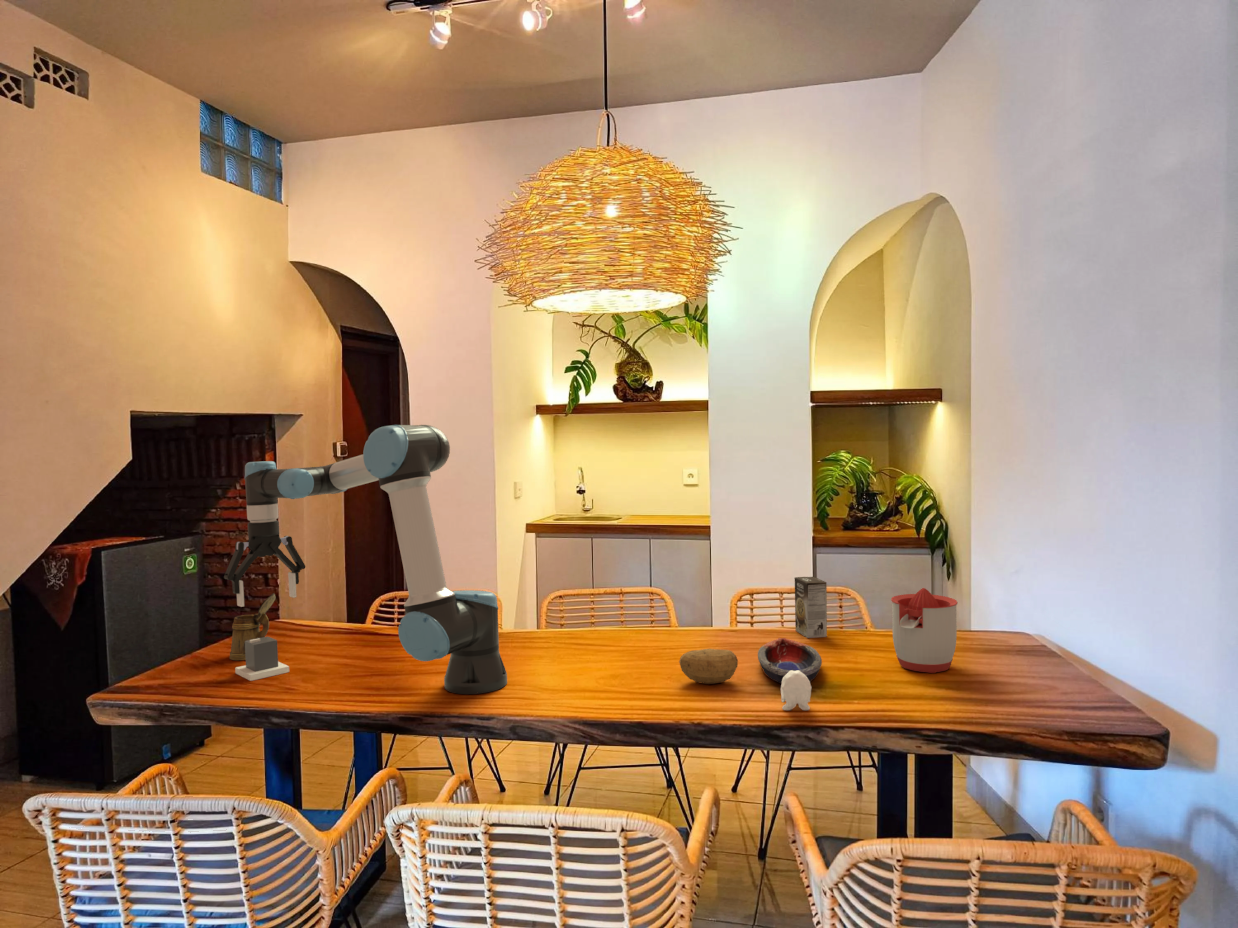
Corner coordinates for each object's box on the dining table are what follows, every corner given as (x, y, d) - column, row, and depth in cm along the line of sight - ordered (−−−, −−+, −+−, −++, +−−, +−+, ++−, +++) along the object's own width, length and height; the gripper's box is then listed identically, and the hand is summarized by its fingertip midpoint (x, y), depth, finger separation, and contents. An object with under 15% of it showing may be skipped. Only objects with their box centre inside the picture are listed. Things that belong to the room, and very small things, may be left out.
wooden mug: (269, 660, 228) (266, 596, 227) (222, 660, 229) (219, 596, 228) (285, 651, 237) (282, 589, 236) (240, 651, 238) (237, 589, 237)
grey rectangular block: (269, 662, 221) (267, 634, 221) (278, 666, 217) (276, 637, 216) (246, 667, 217) (244, 638, 216) (254, 671, 213) (253, 642, 212)
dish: (759, 689, 194) (758, 668, 193) (757, 653, 224) (756, 635, 224) (827, 691, 191) (826, 670, 191) (815, 654, 222) (815, 635, 221)
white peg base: (289, 671, 217) (288, 647, 216) (250, 680, 210) (249, 655, 209) (273, 664, 224) (272, 640, 224) (235, 673, 217) (234, 648, 217)
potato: (680, 676, 205) (679, 644, 204) (737, 677, 203) (737, 644, 203) (678, 688, 195) (677, 655, 195) (738, 689, 193) (737, 656, 193)
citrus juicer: (876, 669, 206) (876, 590, 205) (908, 654, 218) (908, 579, 217) (938, 682, 195) (938, 598, 194) (968, 665, 207) (967, 586, 206)
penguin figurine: (782, 673, 176) (775, 662, 188) (783, 713, 176) (776, 700, 188) (812, 673, 176) (803, 662, 188) (813, 713, 175) (804, 700, 187)
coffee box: (794, 630, 246) (793, 577, 245) (814, 629, 247) (814, 575, 246) (806, 638, 237) (806, 582, 236) (827, 636, 238) (827, 581, 237)
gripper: (303, 515, 227) (307, 591, 228) (207, 524, 209) (212, 607, 210) (315, 516, 221) (319, 594, 222) (218, 526, 204) (223, 611, 205)
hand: (267, 601), depth 216 cm, fingers open, 13 cm apart
